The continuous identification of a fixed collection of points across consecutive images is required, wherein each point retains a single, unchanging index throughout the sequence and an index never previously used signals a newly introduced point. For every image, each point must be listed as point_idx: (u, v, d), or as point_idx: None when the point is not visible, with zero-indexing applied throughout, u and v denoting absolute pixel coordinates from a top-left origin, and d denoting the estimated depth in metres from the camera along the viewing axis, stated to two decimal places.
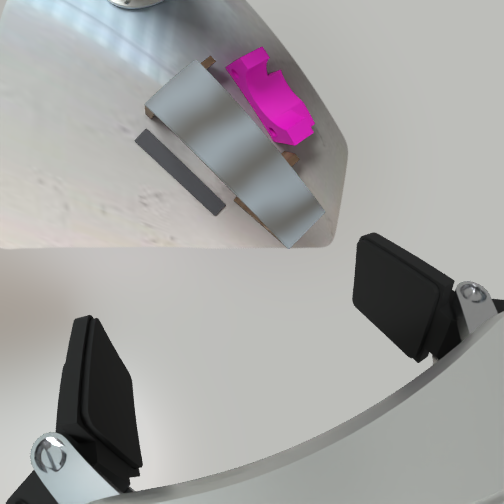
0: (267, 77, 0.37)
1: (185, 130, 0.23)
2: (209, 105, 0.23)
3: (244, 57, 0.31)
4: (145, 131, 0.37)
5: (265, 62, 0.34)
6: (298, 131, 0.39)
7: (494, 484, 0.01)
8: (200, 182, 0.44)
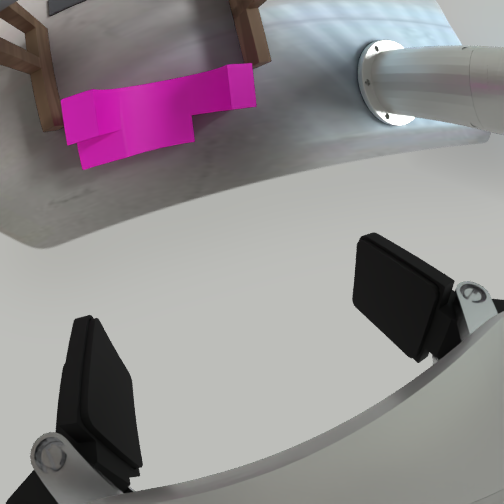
0: (190, 113, 0.23)
1: None
2: None
3: (249, 69, 0.19)
4: None
5: (222, 106, 0.21)
6: (80, 112, 0.16)
7: (493, 485, 0.01)
8: None
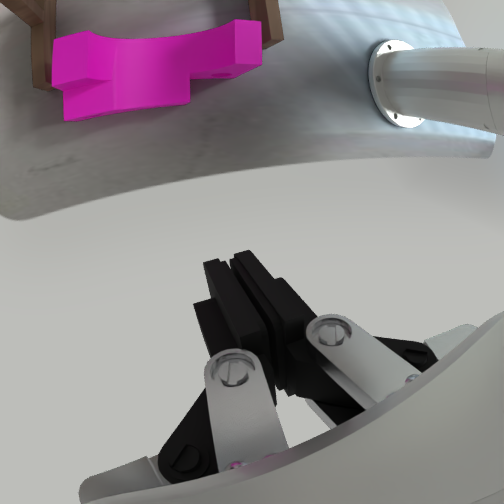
0: (188, 71, 0.19)
1: None
2: None
3: (258, 27, 0.16)
4: None
5: (224, 63, 0.18)
6: (71, 53, 0.13)
7: (493, 485, 0.01)
8: None
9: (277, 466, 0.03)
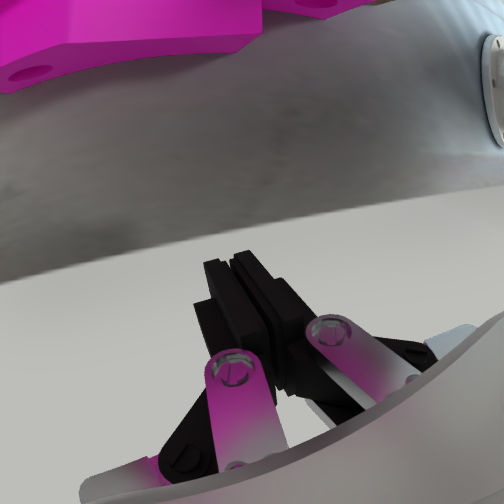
0: None
1: None
2: None
3: None
4: None
5: None
6: None
7: (493, 485, 0.01)
8: None
9: (277, 466, 0.03)
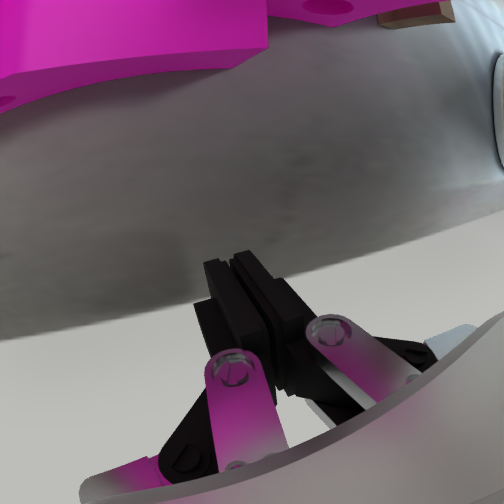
0: None
1: None
2: None
3: None
4: None
5: None
6: None
7: (494, 485, 0.01)
8: None
9: (277, 466, 0.03)
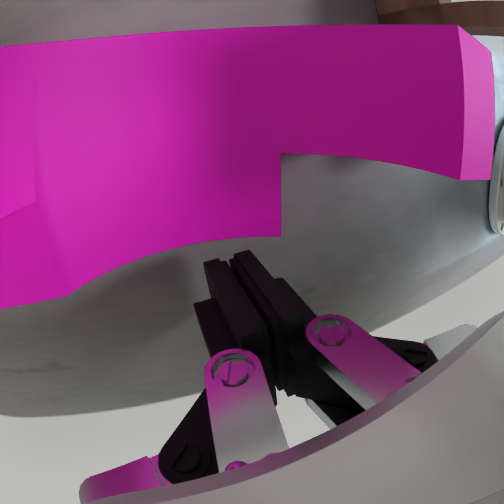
0: (277, 147, 0.08)
1: None
2: None
3: (490, 67, 0.04)
4: None
5: (405, 153, 0.06)
6: None
7: (494, 484, 0.01)
8: None
9: (277, 466, 0.03)
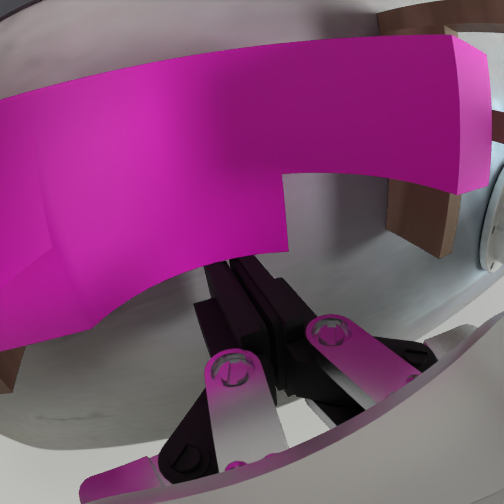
0: (278, 168, 0.08)
1: None
2: None
3: (485, 72, 0.04)
4: None
5: (403, 168, 0.06)
6: None
7: (494, 484, 0.01)
8: None
9: (277, 466, 0.03)
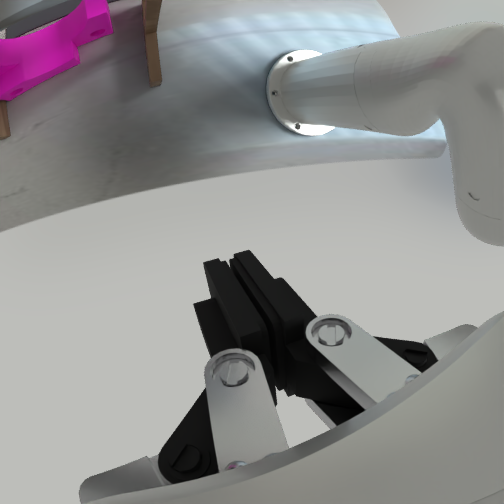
0: (70, 39, 0.19)
1: None
2: None
3: None
4: None
5: (85, 22, 0.17)
6: None
7: (494, 484, 0.01)
8: (43, 22, 0.18)
9: (277, 466, 0.03)
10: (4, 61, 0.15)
